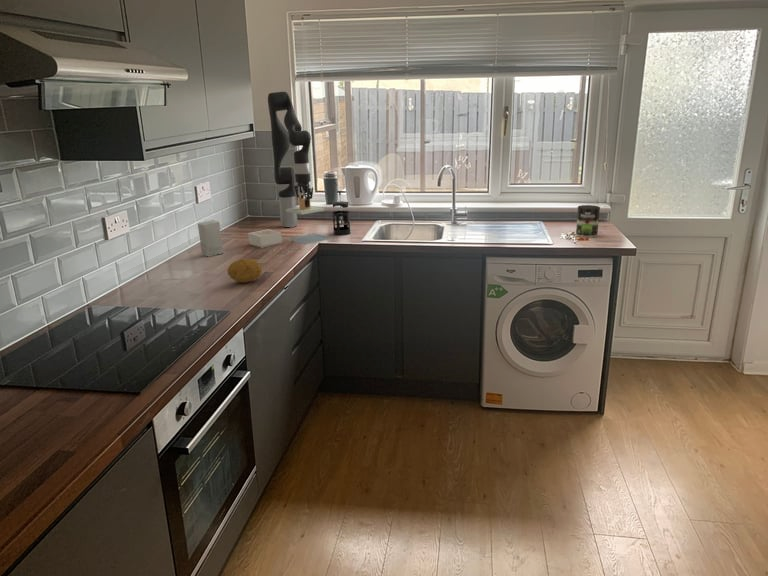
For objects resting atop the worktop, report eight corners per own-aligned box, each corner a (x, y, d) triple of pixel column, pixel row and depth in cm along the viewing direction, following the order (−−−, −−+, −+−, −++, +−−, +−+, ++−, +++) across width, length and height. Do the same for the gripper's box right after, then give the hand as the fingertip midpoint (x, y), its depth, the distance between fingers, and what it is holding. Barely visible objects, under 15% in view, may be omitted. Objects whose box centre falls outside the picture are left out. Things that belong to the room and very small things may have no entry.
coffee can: (597, 237, 278) (599, 209, 274) (574, 236, 282) (576, 208, 278) (598, 233, 287) (600, 205, 283) (576, 232, 291) (578, 204, 287)
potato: (226, 281, 228) (223, 258, 225) (259, 276, 233) (257, 254, 231) (231, 287, 220) (228, 264, 217) (265, 282, 225) (263, 259, 222)
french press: (346, 237, 298) (343, 192, 291) (329, 236, 302) (327, 192, 295) (354, 232, 309) (352, 189, 302) (338, 231, 312) (336, 189, 305)
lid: (286, 211, 291) (285, 199, 290) (308, 207, 300) (308, 195, 298) (301, 214, 281) (300, 202, 280) (324, 210, 290) (323, 198, 288)
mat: (285, 240, 297) (285, 239, 296) (314, 234, 308) (314, 233, 308) (304, 245, 284) (304, 244, 283) (334, 239, 295) (334, 238, 295)
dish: (249, 244, 289) (248, 233, 287) (270, 240, 296) (269, 229, 295) (261, 248, 280) (260, 236, 279) (282, 244, 288) (281, 232, 286)
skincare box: (217, 251, 277) (213, 219, 272) (224, 253, 272) (220, 221, 268) (201, 255, 271) (196, 222, 267) (208, 257, 267) (203, 224, 262)
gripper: (288, 172, 288) (291, 206, 293) (304, 174, 277) (306, 209, 283) (300, 170, 292) (303, 204, 298) (316, 172, 282) (319, 207, 287)
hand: (305, 206), depth 290 cm, fingers closed on lid, 4 cm apart
